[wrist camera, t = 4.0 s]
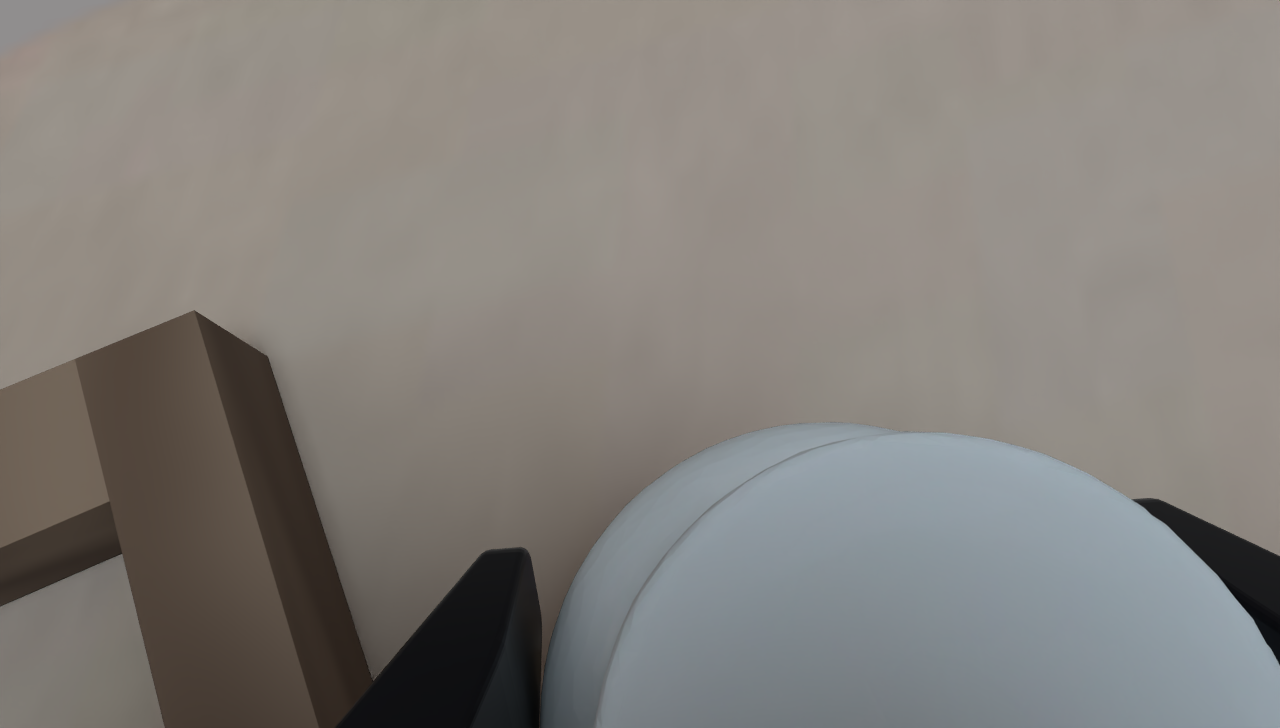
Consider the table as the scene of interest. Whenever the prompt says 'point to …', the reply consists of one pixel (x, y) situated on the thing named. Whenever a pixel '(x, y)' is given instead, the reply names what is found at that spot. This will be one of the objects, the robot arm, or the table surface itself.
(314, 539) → the brown holder board
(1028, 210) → the table surface
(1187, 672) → the pill bottle
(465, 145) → the table surface
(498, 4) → the table surface
